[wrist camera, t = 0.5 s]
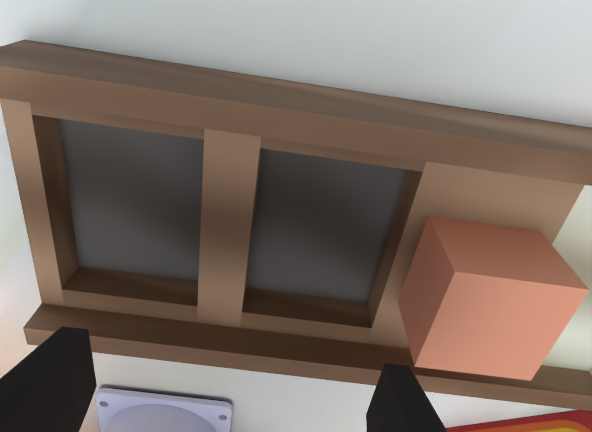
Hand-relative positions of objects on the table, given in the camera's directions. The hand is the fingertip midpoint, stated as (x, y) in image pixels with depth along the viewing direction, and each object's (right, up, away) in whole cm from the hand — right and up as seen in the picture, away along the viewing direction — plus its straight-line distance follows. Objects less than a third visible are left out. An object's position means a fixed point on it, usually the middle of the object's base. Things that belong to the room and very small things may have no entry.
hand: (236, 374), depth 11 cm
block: (+8, +2, +7) cm, 11 cm away
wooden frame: (+4, +3, +9) cm, 10 cm away
